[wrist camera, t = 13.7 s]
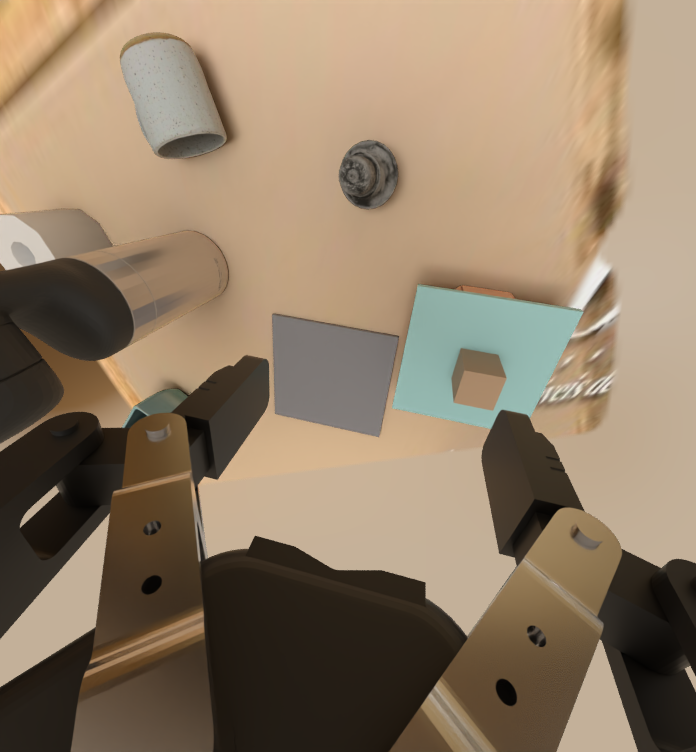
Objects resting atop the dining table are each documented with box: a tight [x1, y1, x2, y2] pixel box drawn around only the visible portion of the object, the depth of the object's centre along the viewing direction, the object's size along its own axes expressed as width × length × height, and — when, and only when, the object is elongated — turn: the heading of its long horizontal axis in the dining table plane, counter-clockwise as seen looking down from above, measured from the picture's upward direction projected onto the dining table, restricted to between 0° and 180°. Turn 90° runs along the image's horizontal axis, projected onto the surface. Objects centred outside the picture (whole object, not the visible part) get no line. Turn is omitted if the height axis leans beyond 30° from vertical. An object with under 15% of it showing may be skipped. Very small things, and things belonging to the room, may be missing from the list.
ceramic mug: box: [120, 33, 227, 159], centre depth 34 cm, size 11×8×8 cm
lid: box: [392, 284, 583, 429], centre depth 35 cm, size 16×16×6 cm
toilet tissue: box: [0, 209, 113, 270], centre depth 45 cm, size 9×13×9 cm
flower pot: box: [122, 389, 188, 428], centre depth 57 cm, size 9×9×9 cm
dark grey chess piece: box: [339, 140, 398, 209], centre depth 31 cm, size 6×6×12 cm
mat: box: [272, 314, 399, 437], centre depth 50 cm, size 18×18×1 cm
